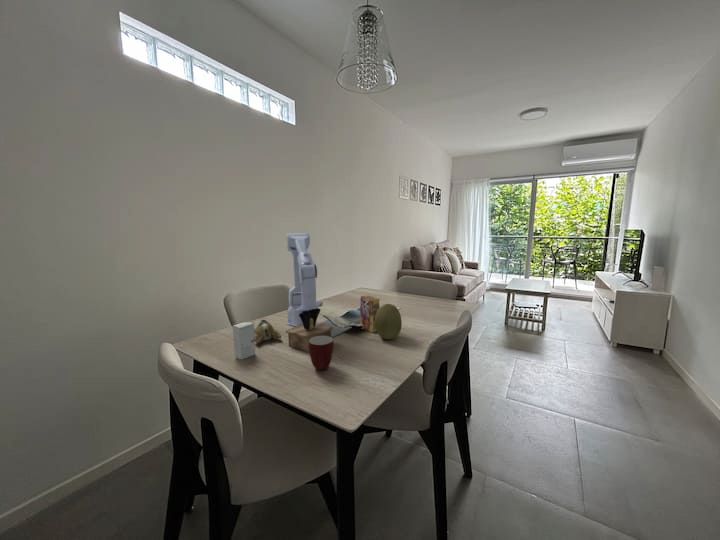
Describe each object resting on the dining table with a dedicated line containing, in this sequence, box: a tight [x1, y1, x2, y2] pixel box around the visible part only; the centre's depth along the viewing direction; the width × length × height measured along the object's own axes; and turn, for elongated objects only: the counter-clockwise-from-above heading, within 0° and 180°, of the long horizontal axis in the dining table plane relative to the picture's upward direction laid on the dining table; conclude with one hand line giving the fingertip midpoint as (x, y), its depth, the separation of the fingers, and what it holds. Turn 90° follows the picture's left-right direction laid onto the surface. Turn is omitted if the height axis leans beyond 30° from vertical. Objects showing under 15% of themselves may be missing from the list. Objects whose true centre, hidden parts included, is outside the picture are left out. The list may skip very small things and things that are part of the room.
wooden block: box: [285, 318, 333, 339], centre depth 117 cm, size 13×13×5 cm
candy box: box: [360, 294, 380, 334], centre depth 133 cm, size 9×4×15 cm, turn 39°
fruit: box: [375, 303, 403, 340], centre depth 122 cm, size 11×11×15 cm
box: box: [287, 330, 332, 353], centre depth 118 cm, size 12×12×6 cm
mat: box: [318, 319, 353, 339], centre depth 135 cm, size 16×16×1 cm
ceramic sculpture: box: [253, 318, 282, 344], centre depth 123 cm, size 11×9×15 cm
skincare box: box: [232, 321, 256, 361], centre depth 106 cm, size 6×4×12 cm
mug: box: [308, 336, 334, 372], centre depth 96 cm, size 10×8×10 cm
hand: (309, 327), depth 117 cm, fingers closed on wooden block, 3 cm apart
